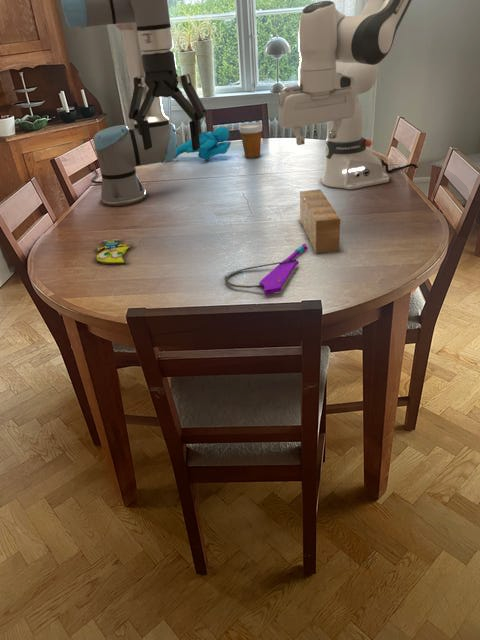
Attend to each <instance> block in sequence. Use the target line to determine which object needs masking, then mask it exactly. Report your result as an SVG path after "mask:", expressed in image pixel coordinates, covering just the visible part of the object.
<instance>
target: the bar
mask: <svg viewBox="0 0 480 640" xmlns="http://www.w3.org/2000/svg"><path fill="white" fill-rule="evenodd" d="M299 216H300V217H299V219H300V223H301V225H302V227H303V229H304V231H305V234H306V236H307V237H308V240H309V242H310V244H311V246H312V248H313V250H314V252H315V254H316V255H317V254H326V253H335V252H340V238H341V237H340V235H341V218H340V216H339V215H338V213H337V212H336V210H335V208H334V207H333V206H332V204H331V203H330V201H329V200H328V198H327V196H326V195H325V194H324V192H323V191H322V189H320V188H319V189H311V190H302V191H301V190H300V191H299Z"/></svg>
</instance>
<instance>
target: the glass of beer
mask: <svg viewBox="0 0 480 640" xmlns="http://www.w3.org/2000/svg"><path fill="white" fill-rule="evenodd" d="M262 131H263V126H262V124H261V123H245V124H241V125H240V126H239V133H240V137H241V142H242V147H243V152H244V157H245V158H248V159H249V158H251V159H252V158H253V159H254V158H258V157H260V156H261V144H262Z"/></svg>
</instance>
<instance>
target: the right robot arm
mask: <svg viewBox="0 0 480 640" xmlns="http://www.w3.org/2000/svg"><path fill="white" fill-rule="evenodd" d="M412 1H413V0H367V1H366V3H365V4H364V7H363V9H362V10H361V12H360V14H359V15H347V16H346V15H345V14H343V13H342V12H340V11H339V10H338V9H337V8H336V5H335V2H334V1H331V0H321V1H317V2H314V3H313V2H312V3H310V4H308V5H306V6H305V7H304V8H303V9H302V10H301V13H300V17H299V25H298V52H299V57H300V58H299V60H300V61H299V66H298V84H295V85H291V86H289V85H287V86H284V87H283V89H281V90H280V91H279V93H278V105H279V106H278V117H277V118H278V119H277V120H278V125H279V126H280V127H281V128H283V129H285V130H286V129H287V130H288V129H291V131H292V133H293V135H294V136H295V138H296V139H295V140H296V142H295V143H296V145H297V146H303V145H305V143H306V142H305V136H302V135H301V133H300V132H301V130H302V127H306V126H311V125H318V124H323V123H326V125H327V126H326V127H327V129H326V130H327V132H326V139H325V145H324V154H325V155H324V156H325V164H324V170H323V175H322V178H321V183H322V185H324V186H327V187H330V188H338V189H339V188H341V189H346V190H356V189H361V188H366V187H371V186H376V185H380V184H385V183H389V182H390V176H389V175H388V174H391V173H393V172H396V171H400V170H401V171H402V170H405V169H407V168H410V167H412V168H414V169H419V166H418V165H417V164H415V163H408V164H405V165H402V166H398V167H393V168H391V169H389V165H388V163H387V162H385V160H384V159H382V158H379V157H377V156H376V155H375V154H373V152H371V151H370V150H368V148H370V147H371V146H373V141H372V140H371V139H368V138H367V139H366V138H364V137H363V136H362V134H363V118H364V112H363V109H362V107H361V104H360V99H359V95H362V94H365V93H367V92H369V91H370V90H371V89H372V88H373V87H374V85H375V84H376V82H377V78H378V67H379V64H380V63H381V62H382V61H383V60H384V59H385V58H386V57H387V55H389V53H390V51H391V49H392V47H393V44H394V41H395V37H396V34H397V31H398V29H399V27H400V26H401V23H402V22H403V19H404V17H405V15H406V13H407V11H408V9H409V7H410V5H411V3H412ZM384 167H385V171H384ZM387 173H388V174H387Z"/></svg>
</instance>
